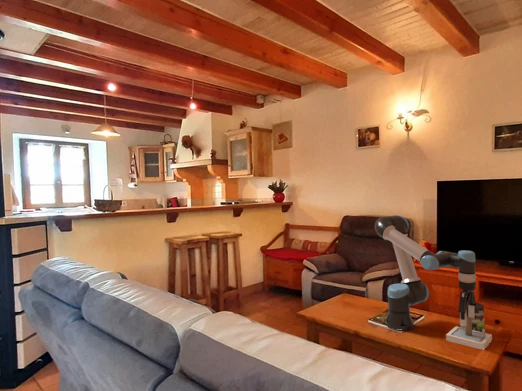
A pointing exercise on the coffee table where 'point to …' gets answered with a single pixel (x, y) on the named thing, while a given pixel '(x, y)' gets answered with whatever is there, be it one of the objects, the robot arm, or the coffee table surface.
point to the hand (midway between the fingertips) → (467, 321)
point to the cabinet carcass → (469, 342)
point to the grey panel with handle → (469, 332)
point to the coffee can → (477, 317)
